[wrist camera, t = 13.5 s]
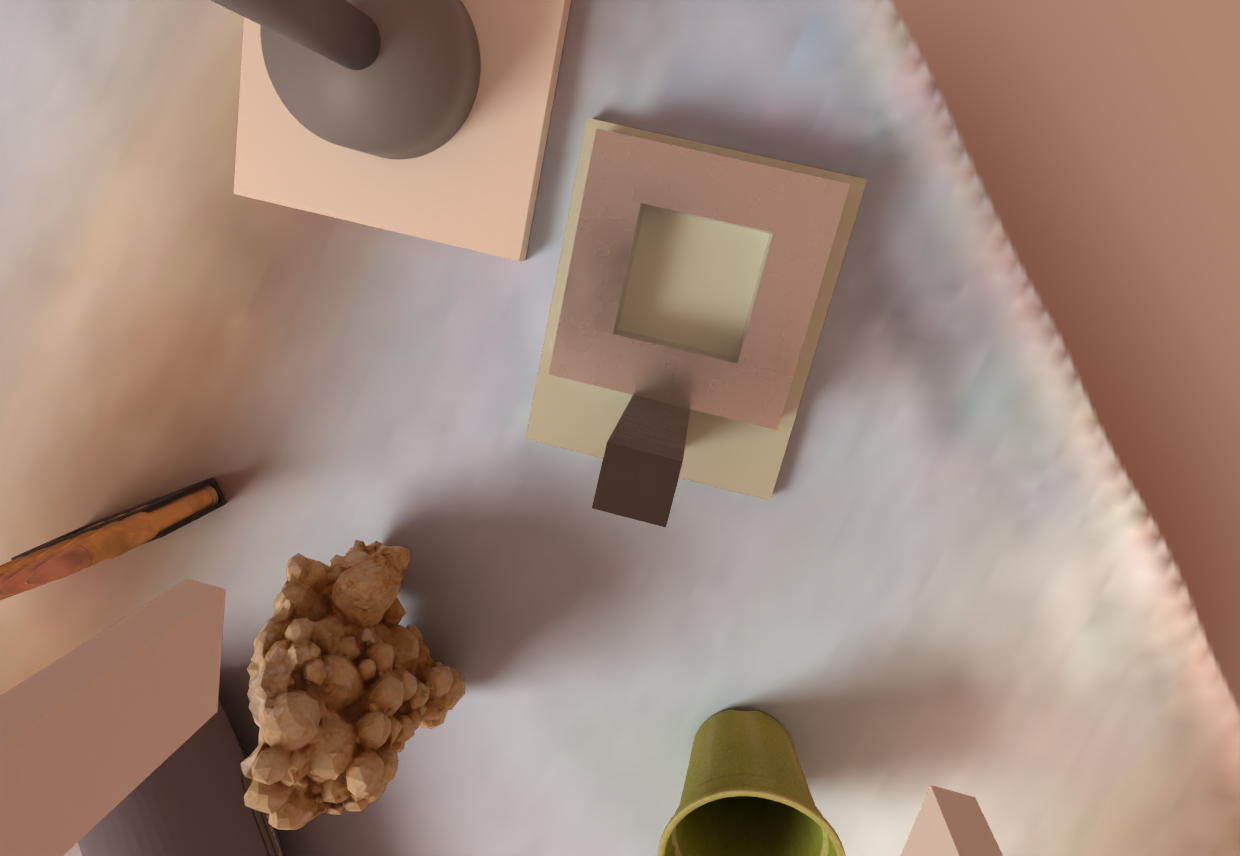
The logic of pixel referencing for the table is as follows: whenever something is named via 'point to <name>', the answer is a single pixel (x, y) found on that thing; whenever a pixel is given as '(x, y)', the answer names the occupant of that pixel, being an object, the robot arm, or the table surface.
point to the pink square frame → (676, 373)
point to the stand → (401, 112)
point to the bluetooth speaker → (189, 805)
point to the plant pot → (746, 795)
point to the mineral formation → (338, 687)
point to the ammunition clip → (108, 538)
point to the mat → (686, 325)
